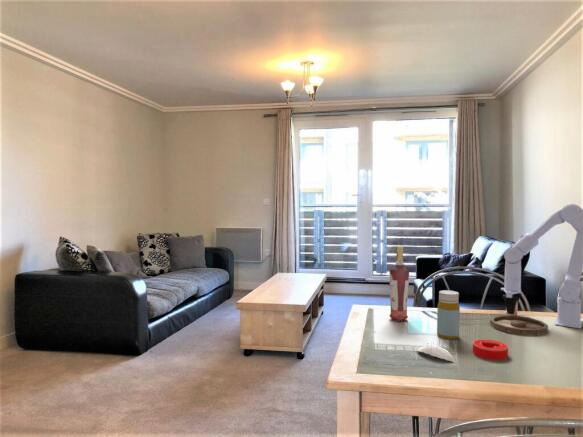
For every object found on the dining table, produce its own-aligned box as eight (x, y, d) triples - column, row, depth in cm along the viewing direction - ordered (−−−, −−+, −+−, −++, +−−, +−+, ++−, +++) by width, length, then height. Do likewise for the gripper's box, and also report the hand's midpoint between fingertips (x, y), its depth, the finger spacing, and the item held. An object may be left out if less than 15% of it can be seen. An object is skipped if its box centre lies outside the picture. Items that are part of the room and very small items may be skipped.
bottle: (436, 338, 147) (437, 293, 146) (437, 332, 154) (438, 289, 153) (458, 340, 144) (459, 295, 144) (459, 334, 151) (460, 291, 150)
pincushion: (411, 353, 133) (411, 335, 133) (422, 349, 137) (423, 331, 137) (447, 365, 124) (448, 345, 124) (458, 360, 128) (459, 341, 128)
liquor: (410, 322, 165) (412, 247, 163) (390, 322, 165) (392, 247, 163) (405, 317, 172) (407, 245, 171) (386, 317, 172) (388, 245, 171)
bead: (506, 314, 177) (507, 299, 176) (518, 315, 174) (518, 300, 174) (504, 316, 174) (505, 301, 173) (516, 318, 171) (516, 302, 171)
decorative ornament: (478, 346, 140) (478, 337, 140) (511, 353, 134) (511, 343, 133) (468, 355, 132) (468, 344, 132) (502, 363, 126) (503, 352, 126)
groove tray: (496, 317, 172) (496, 312, 172) (549, 325, 162) (549, 320, 162) (485, 328, 157) (486, 323, 157) (543, 338, 147) (544, 333, 147)
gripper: (505, 274, 181) (504, 307, 182) (497, 279, 170) (496, 314, 170) (524, 276, 177) (523, 309, 178) (518, 282, 165) (517, 318, 166)
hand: (511, 312), depth 174 cm, fingers closed on bead, 4 cm apart
